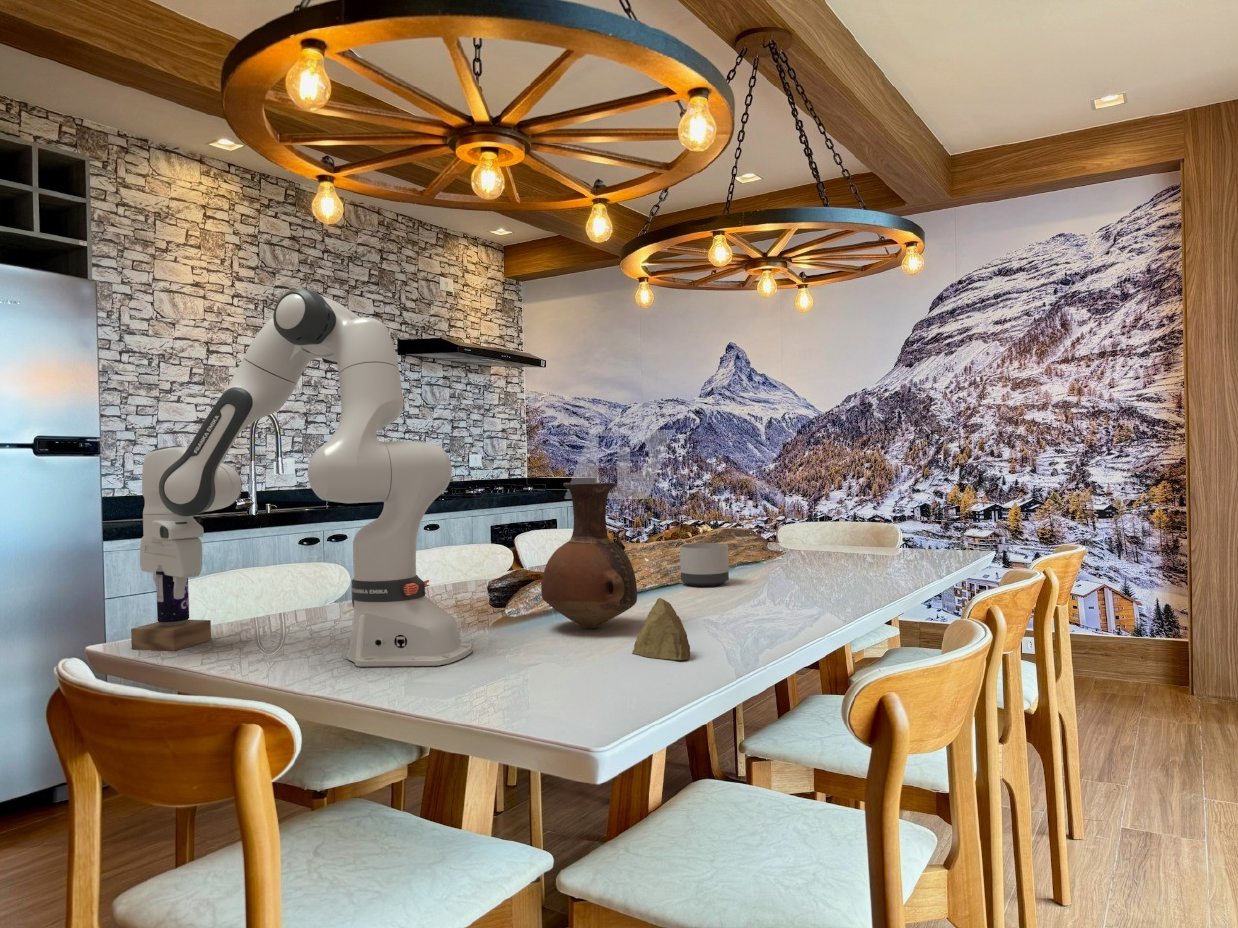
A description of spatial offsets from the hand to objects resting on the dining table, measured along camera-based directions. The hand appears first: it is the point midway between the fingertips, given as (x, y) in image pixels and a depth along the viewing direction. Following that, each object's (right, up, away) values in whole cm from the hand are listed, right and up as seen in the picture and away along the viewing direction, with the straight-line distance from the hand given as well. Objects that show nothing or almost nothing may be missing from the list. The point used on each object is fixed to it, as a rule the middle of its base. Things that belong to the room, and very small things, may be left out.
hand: (170, 596), depth 174 cm
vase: (+84, -7, +6) cm, 84 cm away
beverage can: (0, -6, 0) cm, 6 cm away
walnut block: (0, -9, 0) cm, 10 cm away
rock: (+97, -7, -22) cm, 100 cm away
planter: (+113, -6, +60) cm, 128 cm away
